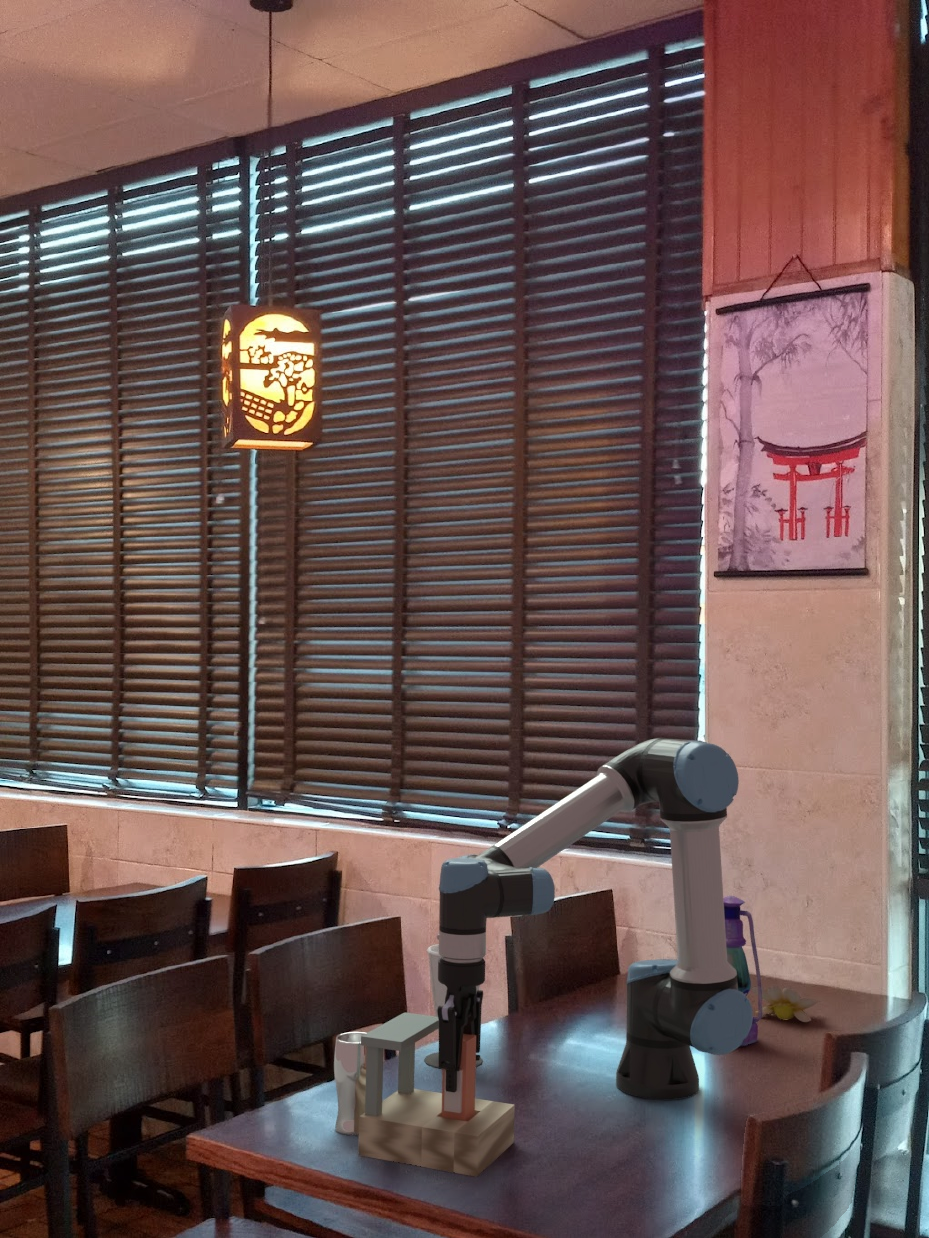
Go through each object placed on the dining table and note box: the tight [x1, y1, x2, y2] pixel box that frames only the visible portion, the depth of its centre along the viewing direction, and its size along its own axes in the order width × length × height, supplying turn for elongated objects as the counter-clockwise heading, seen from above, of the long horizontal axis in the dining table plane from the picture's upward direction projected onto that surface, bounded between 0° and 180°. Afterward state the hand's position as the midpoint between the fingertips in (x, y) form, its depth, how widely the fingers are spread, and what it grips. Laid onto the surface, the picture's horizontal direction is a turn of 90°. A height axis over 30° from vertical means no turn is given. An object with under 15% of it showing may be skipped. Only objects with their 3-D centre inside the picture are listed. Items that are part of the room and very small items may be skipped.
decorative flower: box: [750, 985, 821, 1023], centre depth 292 cm, size 15×11×10 cm
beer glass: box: [333, 1031, 367, 1136], centre depth 217 cm, size 7×7×15 cm
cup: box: [423, 943, 484, 1069], centre depth 256 cm, size 12×12×22 cm
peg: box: [441, 1034, 477, 1122], centre depth 208 cm, size 4×4×14 cm
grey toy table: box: [361, 1012, 439, 1117], centre depth 212 cm, size 7×16×12 cm, turn 157°
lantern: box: [723, 895, 763, 1047], centre depth 274 cm, size 13×12×30 cm
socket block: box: [357, 1088, 516, 1178], centre depth 209 cm, size 20×16×6 cm
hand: (458, 1106), depth 208 cm, fingers closed on peg, 4 cm apart
